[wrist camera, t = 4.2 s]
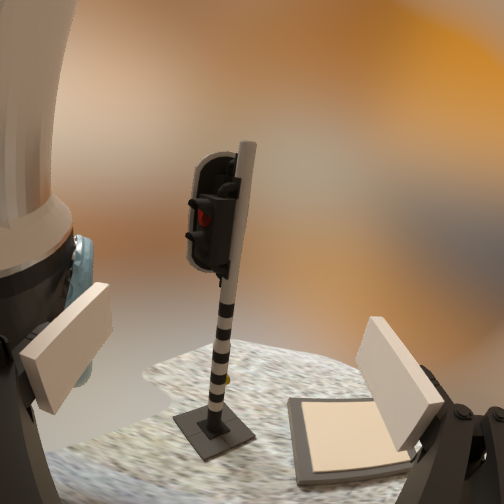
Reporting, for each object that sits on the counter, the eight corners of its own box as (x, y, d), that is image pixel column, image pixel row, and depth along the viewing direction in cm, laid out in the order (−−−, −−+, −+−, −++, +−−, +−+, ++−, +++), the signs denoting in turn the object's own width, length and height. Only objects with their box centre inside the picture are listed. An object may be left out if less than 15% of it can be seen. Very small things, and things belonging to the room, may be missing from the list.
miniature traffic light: (219, 398, 35) (252, 145, 26) (255, 437, 30) (315, 151, 21) (166, 416, 30) (176, 134, 22) (198, 462, 25) (229, 133, 16)
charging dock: (297, 485, 23) (300, 479, 23) (287, 403, 36) (289, 395, 35) (416, 470, 24) (423, 463, 23) (386, 402, 36) (390, 395, 36)
